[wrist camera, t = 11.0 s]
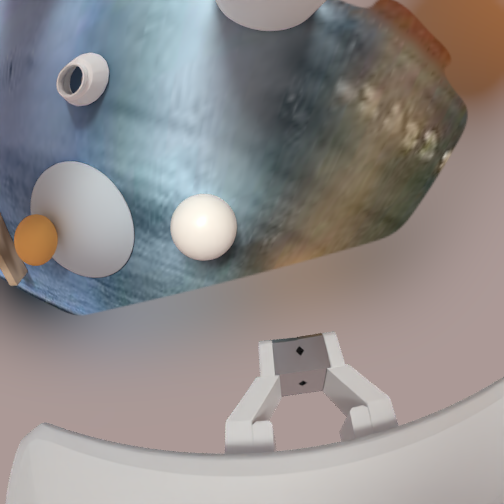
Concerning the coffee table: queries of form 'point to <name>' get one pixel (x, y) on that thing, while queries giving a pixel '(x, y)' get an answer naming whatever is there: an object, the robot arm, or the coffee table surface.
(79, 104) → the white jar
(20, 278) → the wall
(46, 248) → the orange ball
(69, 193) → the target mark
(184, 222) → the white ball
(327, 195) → the coffee table surface
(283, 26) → the beverage can
